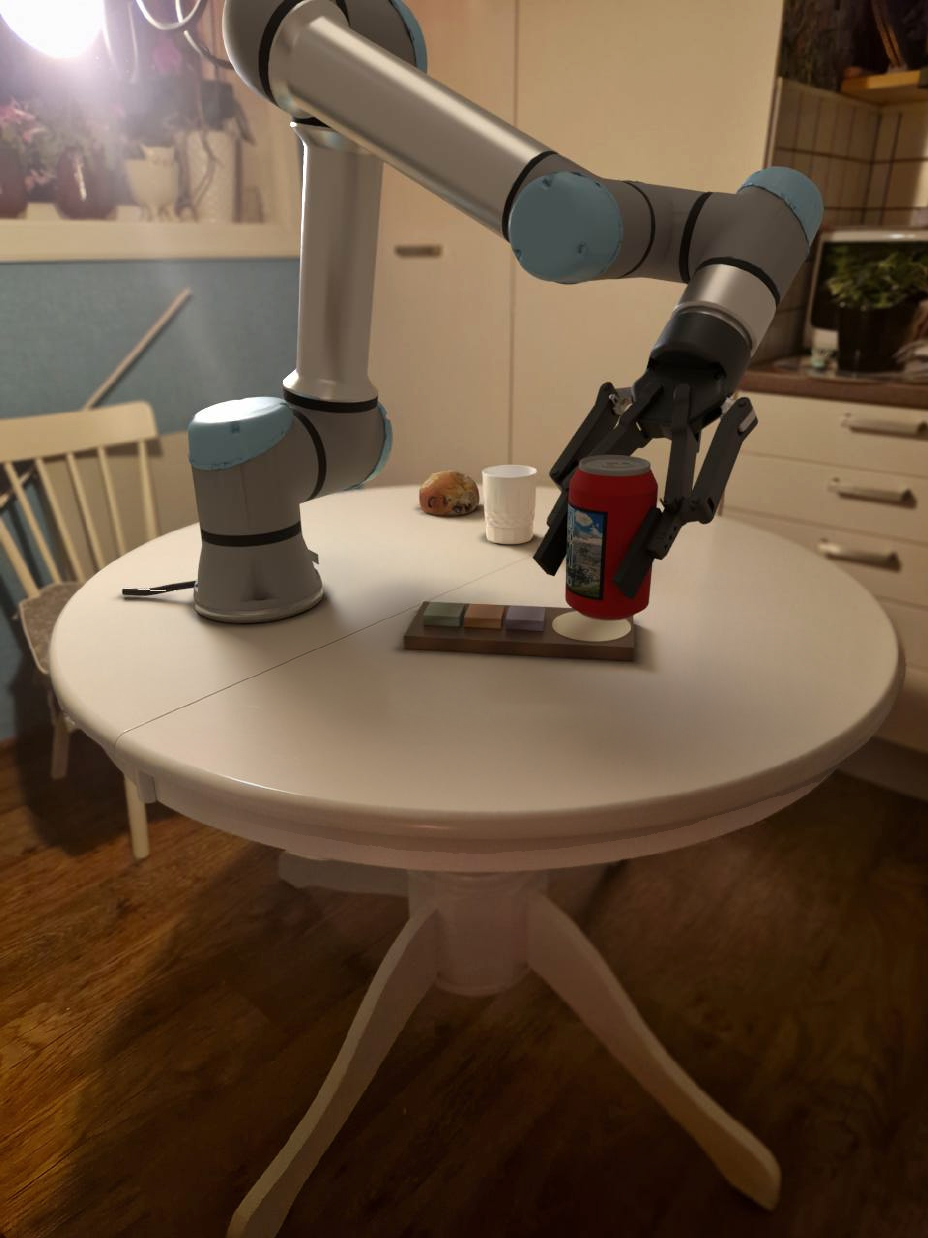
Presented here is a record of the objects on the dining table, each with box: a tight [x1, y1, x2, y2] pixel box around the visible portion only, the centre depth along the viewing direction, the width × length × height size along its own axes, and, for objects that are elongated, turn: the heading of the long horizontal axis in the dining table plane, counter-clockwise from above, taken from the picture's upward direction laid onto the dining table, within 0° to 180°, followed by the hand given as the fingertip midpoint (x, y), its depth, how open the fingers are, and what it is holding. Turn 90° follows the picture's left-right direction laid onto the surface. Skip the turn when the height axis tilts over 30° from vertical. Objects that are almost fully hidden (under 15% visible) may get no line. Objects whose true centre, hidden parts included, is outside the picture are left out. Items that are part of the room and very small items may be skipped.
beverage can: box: [564, 455, 659, 621], centre depth 68 cm, size 7×7×12 cm
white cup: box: [481, 464, 538, 545], centre depth 125 cm, size 8×8×10 cm
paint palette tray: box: [403, 600, 636, 662], centre depth 94 cm, size 24×10×3 cm, turn 81°
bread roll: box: [418, 469, 481, 517], centre depth 142 cm, size 10×10×8 cm
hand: (582, 577), depth 66 cm, fingers closed on beverage can, 7 cm apart
